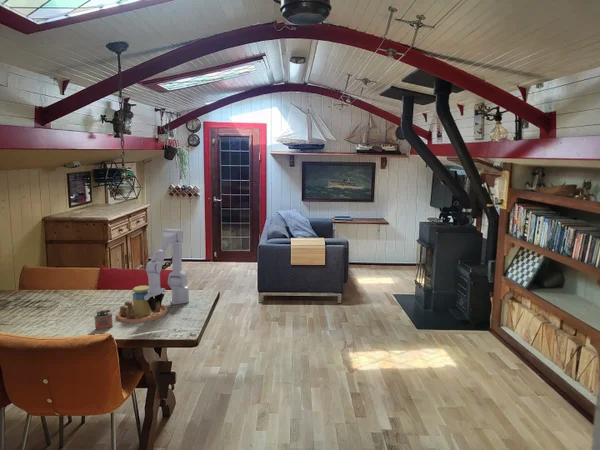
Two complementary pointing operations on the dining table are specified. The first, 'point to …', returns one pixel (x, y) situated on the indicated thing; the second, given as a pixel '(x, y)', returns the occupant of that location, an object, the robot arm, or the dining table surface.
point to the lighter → (103, 320)
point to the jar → (141, 301)
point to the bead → (157, 307)
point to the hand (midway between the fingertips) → (155, 308)
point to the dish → (146, 318)
